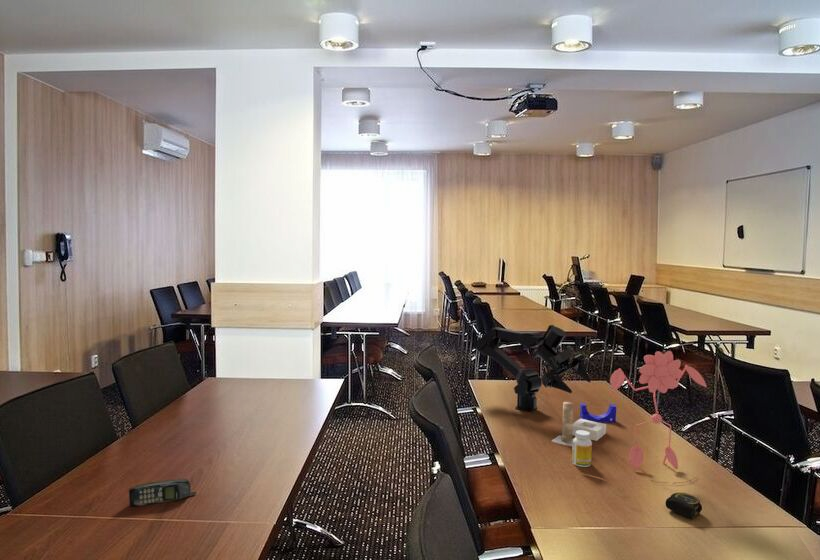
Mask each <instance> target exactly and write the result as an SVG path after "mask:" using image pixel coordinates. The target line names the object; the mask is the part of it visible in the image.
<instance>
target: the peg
mask: <svg viewBox="0 0 820 560" xmlns="http://www.w3.org/2000/svg"><path fill="white" fill-rule="evenodd" d="M561 423H562V427H561V429H562V430H561V436H562V441H563V442H565V443H571V442H572V438H573V435H572V430H573V423H574V403H573V402H570V401H564V402H562V422H561Z"/></svg>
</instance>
